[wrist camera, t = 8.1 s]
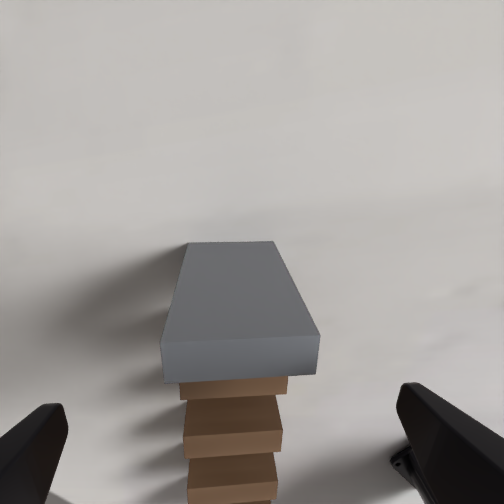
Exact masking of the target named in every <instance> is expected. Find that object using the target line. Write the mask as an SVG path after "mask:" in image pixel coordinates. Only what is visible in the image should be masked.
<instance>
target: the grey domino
mask: <svg viewBox="0 0 504 504" xmlns="http://www.w3.org/2000/svg"><path fill="white" fill-rule="evenodd" d="M319 343H320V333H319V331H318V329H317V327H316V325H315V323H314V321H313V319H312V317H311V315H310V313H309V311H308V309H307V307H306V305H305V303H304V301H303V299H302V297H301V295H300V293H299V291H298V289H297V287H296V285H295V283H294V281H293V279H292V277H291V275H290V273H289V271H288V269H287V267H286V265H285V263H284V261H283V259H282V257H281V255H280V253H279V251H278V249H277V247H276V245H275V244H274V242H273V241H267V242H205V243H188V246H187V249H186V253H185V256H184V260H183V263H182V267H181V270H180V274H179V277H178V281H177V284H176V288H175V291H174V295H173V299H172V302H171V306H170V309H169V313H168V316H167V320H166V323H165V327H164V330H163V334H162V337H161V341H160V348H161V357H162V366H163V375H164V383H165V384H168V383H184V382H200V381H216V380H232V379H248V378H264V377H281V376H297V375H313V374H316V367H317V359H318V351H319Z"/></svg>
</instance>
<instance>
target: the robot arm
mask: <svg viewBox="0 0 504 504" xmlns="http://www.w3.org/2000/svg"><path fill="white" fill-rule="evenodd" d="M396 410H397V414H398V416H399V419H400V421H401V423H402V426H403V428H404V430H405V433H406V435H407V438H408V440H409V442H410V445H411V446H410V447H409V448H407V449H405V450H404V451H402V452H400V453H399V454H397V455H395V456H394V457H392V458H391V459H390V462H391V464H392V466H393V468H394V469H395V470H397V471H398V472H399V473H400V474H401V475H402V476H403V477H404V478H405V479H406V480H407V481H408V482H410V483H411V484H412V485H413V486H414V487H415V488H416V489H417V491H418V492H419V494H420V496H421V498H422V500H423V501H424V503H425V504H504V438H503V437H501V436H499V435H498V434H496V433H495V432H493V431H492V430H490V429H489V428H487V427H486V426H484V425H483V424H481V423H480V422H478V421H476V420H475V419H473V418H472V417H470V416H469V415H467V414H466V413H464V412H463V411H461V410H460V409H458V408H457V407H455V406H454V405H452V404H450V403H449V402H447V401H446V400H444V399H443V398H441V397H440V396H438V395H437V394H435V393H434V392H432V391H431V390H429V389H427V388H426V387H424V386H423V385H421V384H420V383H416V382H413V383H404V384H403V385H402V386H401V389H400V392H399V396H398V399H397V403H396ZM67 435H68V423H67V419H66V415H65V412H64V408H63V405H62V404H60V403H49V404H43V405H41V406H39V407H38V408H37V409H36V410H34V411H33V412H32V413H31V414H29V415H28V416H27V417H26V418H24V419H23V420H22V421H21V422H19V423H18V424H17V425H15V426H14V427H13V428H12V429H10V430H9V431H8V432H7V433H5V434H4V435H3V436H2V437H0V504H45V501H46V499H47V495H48V493H49V490H50V487H51V484H52V481H53V478H54V475H55V472H56V469H57V466H58V463H59V460H60V457H61V454H62V451H63V448H64V445H65V442H66V439H67Z"/></svg>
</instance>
